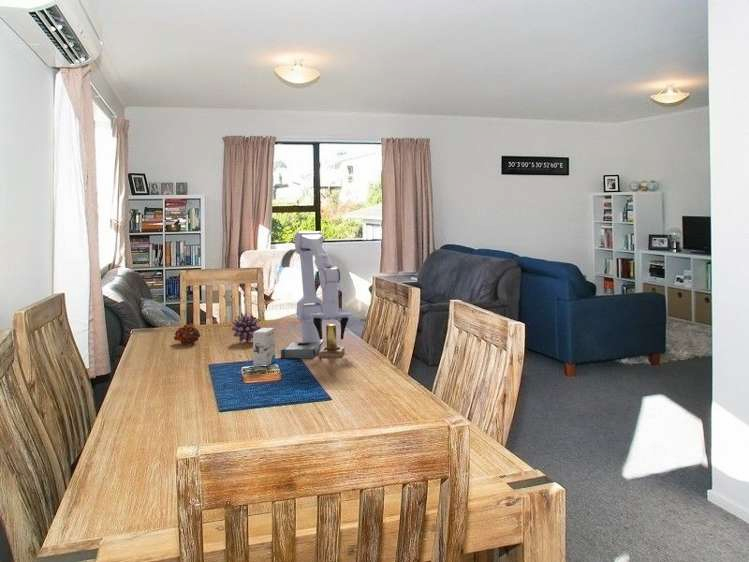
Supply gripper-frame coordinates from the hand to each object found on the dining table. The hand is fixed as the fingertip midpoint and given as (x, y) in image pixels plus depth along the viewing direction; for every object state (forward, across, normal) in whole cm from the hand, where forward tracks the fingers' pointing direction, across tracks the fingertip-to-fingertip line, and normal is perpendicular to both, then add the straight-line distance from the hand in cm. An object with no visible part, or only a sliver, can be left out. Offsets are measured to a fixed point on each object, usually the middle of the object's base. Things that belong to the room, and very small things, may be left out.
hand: (331, 338), depth 223 cm
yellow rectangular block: (+4, 0, 0) cm, 4 cm away
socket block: (+6, -11, +2) cm, 12 cm away
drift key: (+6, -13, -3) cm, 15 cm away
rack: (+6, 0, 0) cm, 6 cm away
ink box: (+6, -21, -14) cm, 26 cm away
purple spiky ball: (+6, -38, +24) cm, 45 cm away
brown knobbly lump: (+6, -62, +22) cm, 66 cm away
